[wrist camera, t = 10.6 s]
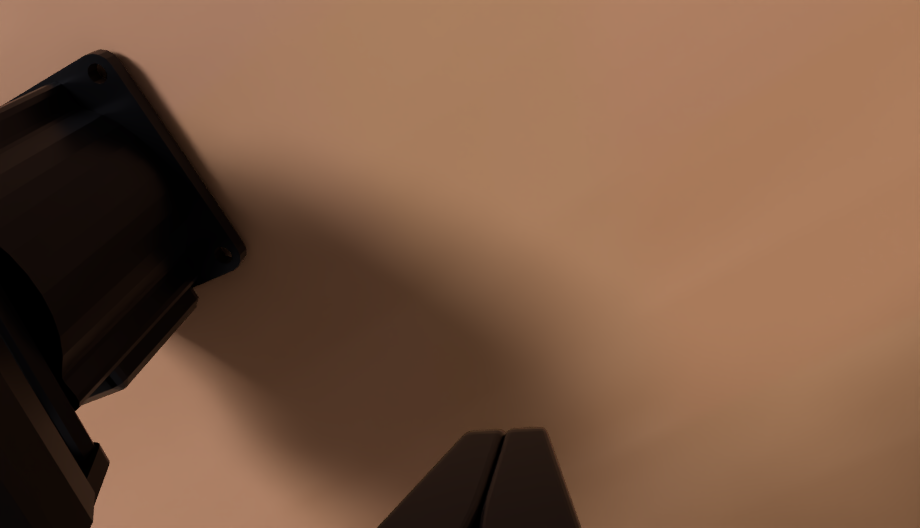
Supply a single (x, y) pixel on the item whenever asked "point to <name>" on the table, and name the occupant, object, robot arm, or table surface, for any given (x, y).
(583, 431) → the table surface
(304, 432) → the table surface
